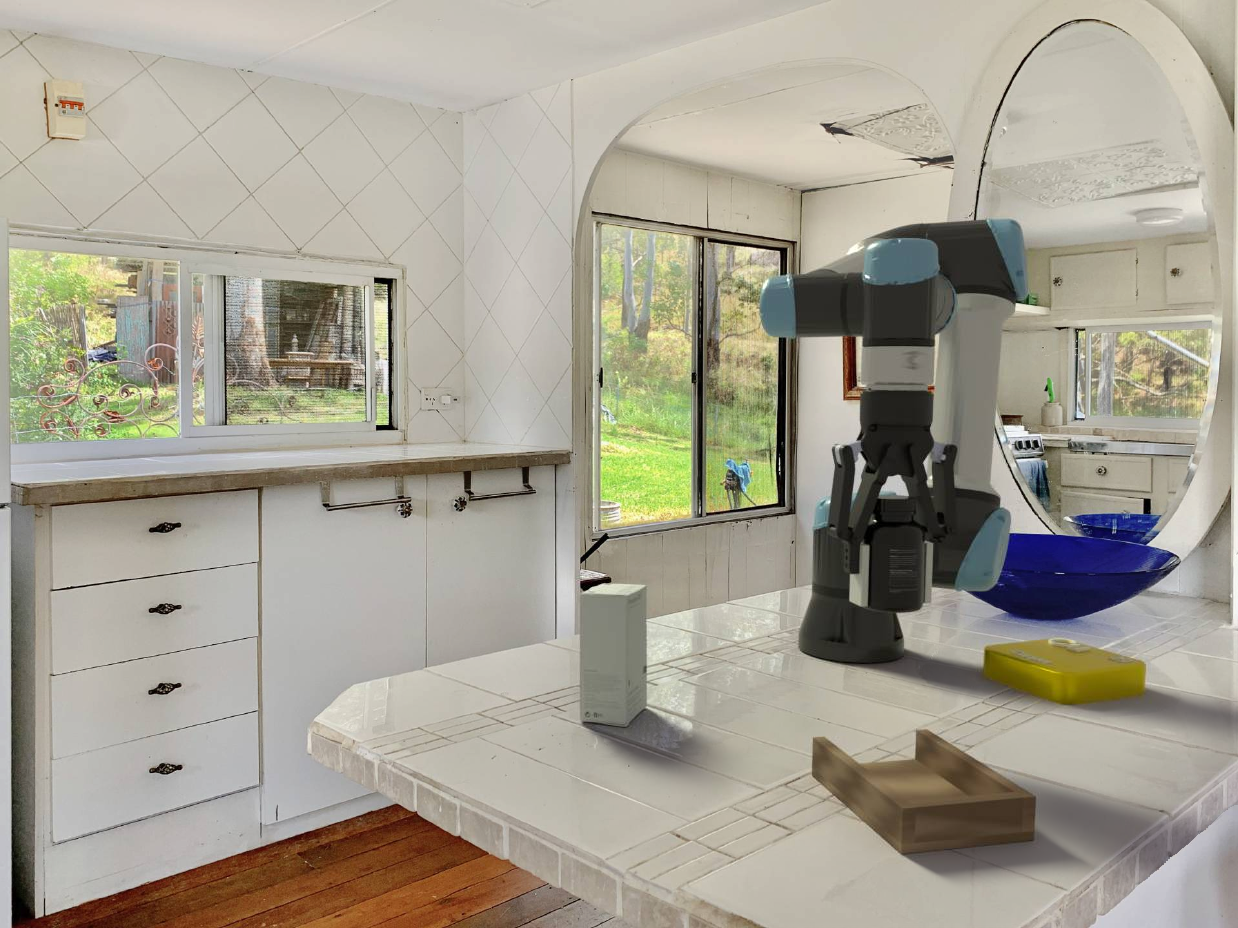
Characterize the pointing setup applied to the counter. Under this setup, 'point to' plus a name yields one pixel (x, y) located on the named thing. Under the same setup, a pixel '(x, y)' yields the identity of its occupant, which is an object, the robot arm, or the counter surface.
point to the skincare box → (613, 653)
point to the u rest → (928, 796)
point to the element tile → (1064, 671)
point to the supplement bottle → (895, 556)
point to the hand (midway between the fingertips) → (890, 601)
